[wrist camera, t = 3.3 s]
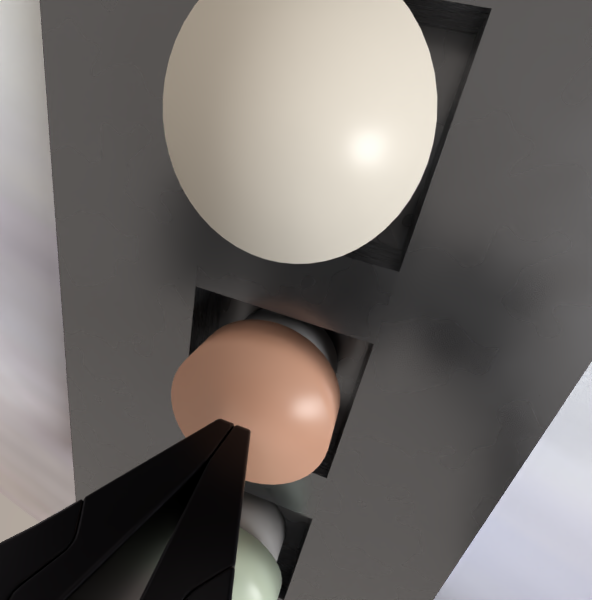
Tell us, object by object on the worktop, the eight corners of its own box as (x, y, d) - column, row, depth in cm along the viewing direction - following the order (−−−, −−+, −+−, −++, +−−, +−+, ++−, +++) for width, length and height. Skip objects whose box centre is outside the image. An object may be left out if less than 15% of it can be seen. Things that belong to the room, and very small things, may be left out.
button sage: (308, 501, 14) (279, 596, 11) (284, 571, 16) (255, 668, 13) (196, 456, 14) (142, 534, 12) (187, 528, 16) (138, 611, 13)
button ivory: (462, 35, 8) (491, -25, 5) (392, 247, 9) (382, 294, 7) (254, -3, 8) (170, -75, 5) (228, 201, 10) (156, 226, 7)
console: (704, 29, 8) (846, -23, 5) (393, 583, 17) (389, 664, 15) (128, -65, 10) (29, -134, 8) (123, 468, 20) (77, 520, 17)
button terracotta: (366, 320, 11) (351, 380, 9) (331, 428, 13) (308, 506, 11) (232, 277, 12) (176, 320, 9) (216, 385, 14) (166, 448, 11)
